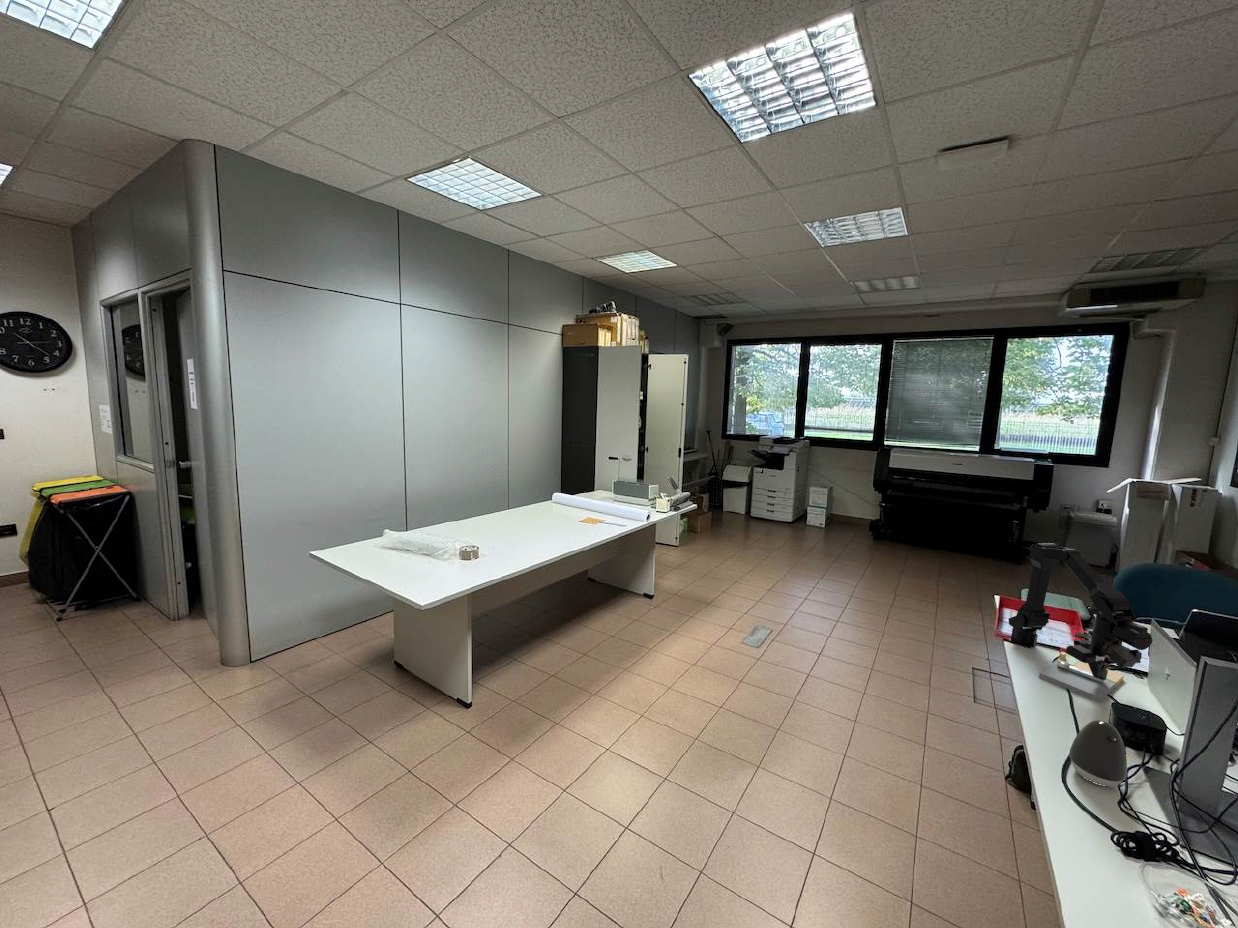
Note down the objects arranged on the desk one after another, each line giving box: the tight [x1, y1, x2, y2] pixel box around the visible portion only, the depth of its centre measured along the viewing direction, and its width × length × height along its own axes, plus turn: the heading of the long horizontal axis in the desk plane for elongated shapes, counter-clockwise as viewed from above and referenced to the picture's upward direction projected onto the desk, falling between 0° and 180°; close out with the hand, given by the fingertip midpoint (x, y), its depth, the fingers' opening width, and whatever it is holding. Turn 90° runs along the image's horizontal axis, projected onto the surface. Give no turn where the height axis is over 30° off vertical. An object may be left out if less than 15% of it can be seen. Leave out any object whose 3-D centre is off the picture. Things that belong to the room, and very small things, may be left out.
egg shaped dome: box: [1068, 720, 1128, 787], centre depth 121 cm, size 10×10×15 cm
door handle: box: [1057, 661, 1108, 683], centre depth 162 cm, size 12×3×4 cm, turn 36°
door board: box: [1038, 651, 1125, 703], centre depth 162 cm, size 15×22×4 cm
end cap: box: [1073, 632, 1092, 649], centre depth 175 cm, size 10×7×7 cm
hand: (1095, 677), depth 157 cm, fingers closed
